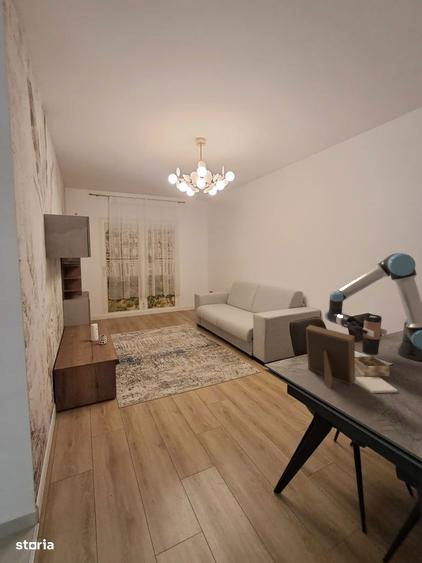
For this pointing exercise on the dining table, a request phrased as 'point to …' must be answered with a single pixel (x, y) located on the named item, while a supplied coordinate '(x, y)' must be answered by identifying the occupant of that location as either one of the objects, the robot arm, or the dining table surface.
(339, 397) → the dining table surface
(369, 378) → the pad
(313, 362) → the photo frame
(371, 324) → the travel mug
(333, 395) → the dining table surface
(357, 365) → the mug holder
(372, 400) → the dining table surface
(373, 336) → the robot arm
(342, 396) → the dining table surface
